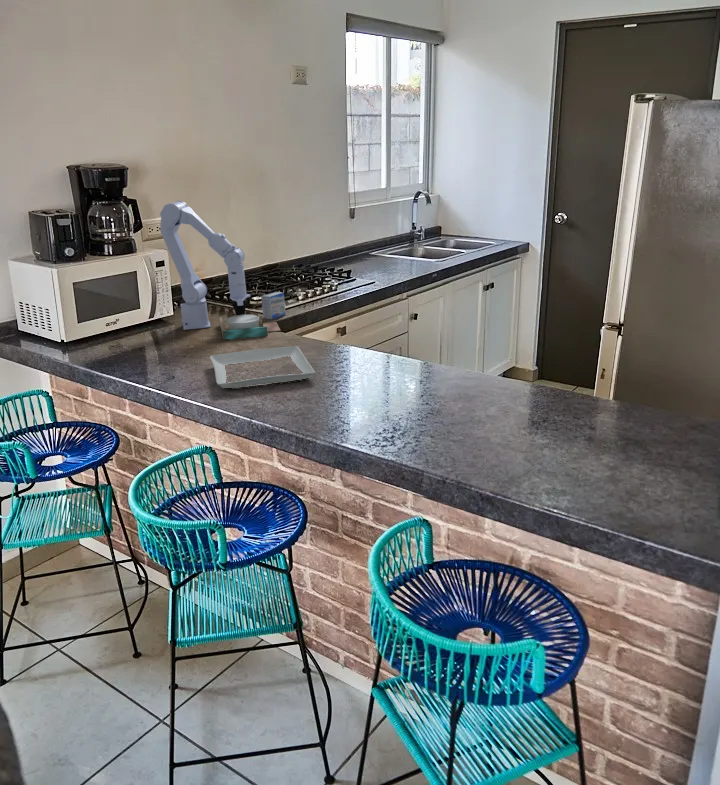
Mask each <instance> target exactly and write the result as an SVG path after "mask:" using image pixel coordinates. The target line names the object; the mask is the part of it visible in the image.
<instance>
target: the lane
mask: <svg viewBox="0 0 720 785" xmlns="http://www.w3.org/2000/svg"><path fill="white" fill-rule="evenodd" d="M257 316H258V317H259V325H262V326H259V327H255V328H246V329H236V330H230V329H228V330H226V327H225V323H224V319H223V317H222V316H221V317H219V326H220V330H221V335H222V338H223V341H226V340H225V339H230V340H236V339H235V338H240V339H247V338H246V337H249V338H258V337H266V336H269V334H268V333H273V332H282V331H281V328H280V327H279V324H278V323H277V321H272V322H263V314H261V313H257Z"/></svg>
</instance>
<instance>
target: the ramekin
mask: <svg viewBox="0 0 720 785" xmlns="http://www.w3.org/2000/svg"><path fill="white" fill-rule="evenodd" d="M226 322H227V325H228V330H236V329H246V328H255V327H260V324H259V317H258V315H255V314H245V315H237V316H236V315H232V316H230V317H228V318H227V319H226Z"/></svg>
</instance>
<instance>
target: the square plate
mask: <svg viewBox="0 0 720 785" xmlns="http://www.w3.org/2000/svg"><path fill="white" fill-rule="evenodd" d="M286 356H288V357H289V356H290V357H291V359H292V361H293V362H294V363H295V364H296V366H297V367H298V368H299V369H300V370H301V371H302V372H303V373H301V374H288V375H276V376H267V377H260V378H253V379H246V380H241V381H235V382H228V383H226V379H227V378H226V377H227V376H226V370H225V365H228V364H237V363H245V362H253V361H264V360H271V359H277V358H281V357H286ZM209 360H210V362H211V364H212V366H213V370H214V376H215V381H216V384H217V386H219V387H220V388H221V389H224V388H231V387H240V386H247V385H256V384H266V383H274V382H281V381H290V380H298V379H306V378H309V379H311V378H312V377H313V376H315V374H316V371H315V370H314V368H313V366H312V364H310V363H309V361H308V360H307V358H306V357H305V355H304V353H303V352H302V349H301V348H300V347H299V346H297V345H291V346H281V347H279V346H278V347H267V348H257V349H251V350H241V351H235V352H234V351H233V352H228V353H227V352H226V353H220V354H212V355H210V356H209ZM306 380H307V379H306Z"/></svg>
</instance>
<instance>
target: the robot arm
mask: <svg viewBox="0 0 720 785" xmlns="http://www.w3.org/2000/svg"><path fill="white" fill-rule="evenodd" d="M159 215H160V230H159V231H160V234H161V236H162V237H163V241H164V243H165V245H166V247H167V250H168V252H169V254H170V257H171V259H172V261H173V264H174V266H175V268H176V270H177V273H178V275H179V278H180V288H181V295H182V299H183V301H184V303H180V314H181V324H182V327H183V331H186V330H198V329H205V328H206V329H207V328H211V322H210V320H209V313H208V306H207V304H208V303H207V299H206V295H207V293H208V288H207V286H206V284H205V283H204V282H203V281H202V280H201V277H200V276H199V275H198V274H196V272H195V270H194V268H193V265H192V263H191V261H190V257H189V256H188V253H187V251H186V248H185V247H184V244H183V241H182V239H181V237H180V234H179V233H178V230H179V228H180V226H181V224H182V225H189V226H191V227H192V228H193V229H194V230H196V231H197V232H198V233H199V234H200V235H202V236H203V237H204V238H205V239H207V242H208V246H209V247H210V248H211V249H212V250H214V252H216V253H217V254H218V255H219V256H220V257H221V258H222V259H223V261H224V262H223V263H225V265H226V267H227V276H228V285H229V286H228V287H229V294H230V296H229V299H230V300H232V301H230V304H231V307H233V309H234V312H235V316H237V315H246V314H245V313H246V309H247V306H248V300H247V299H248V298H251V294H249V293H247V286H246V276H245V269H244V268H245V267H244V261H245V258H246V257H245V252H244V251H243V250H242V248H240V247H237V245H235V244H233V243H231V242H230V240H228V239H227V236H226V235H225V234H224V233H223V234H222V233H221V232H215V231H214V230H213V229H211V228H210V227H209V225H207V223H205V221H204V220H202V218H201V217H200V216H199V215H198V214H197V213H196V212H195V211H194V210H193V209H192V207H191V206H188V205H187V203H186V202H185V201H182V200H176V201H174V202H171V203H166V204H165V205H164V206H163V208H162V210H161V211H160V213H159Z"/></svg>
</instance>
